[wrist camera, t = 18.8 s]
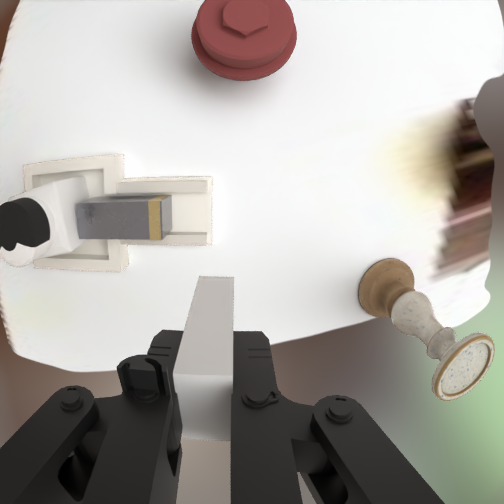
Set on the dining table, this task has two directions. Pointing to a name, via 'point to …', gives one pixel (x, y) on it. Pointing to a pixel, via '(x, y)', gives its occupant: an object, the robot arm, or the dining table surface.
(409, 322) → the candle holder
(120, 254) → the dock socket
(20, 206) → the container
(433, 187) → the dining table surface
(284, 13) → the mechanical component
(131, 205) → the grey rectangular block
